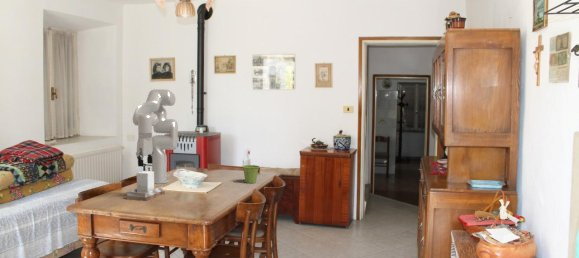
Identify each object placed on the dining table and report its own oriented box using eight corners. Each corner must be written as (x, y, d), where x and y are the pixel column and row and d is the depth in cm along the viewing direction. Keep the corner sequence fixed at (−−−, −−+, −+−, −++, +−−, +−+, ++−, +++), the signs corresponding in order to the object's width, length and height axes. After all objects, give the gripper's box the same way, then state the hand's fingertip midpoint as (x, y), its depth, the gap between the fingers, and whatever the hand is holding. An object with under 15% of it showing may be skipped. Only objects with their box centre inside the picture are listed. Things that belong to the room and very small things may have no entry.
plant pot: (258, 184, 315) (258, 167, 314) (241, 183, 315) (241, 167, 314) (260, 181, 327) (260, 165, 326) (243, 180, 327) (243, 164, 326)
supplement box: (154, 192, 277) (154, 171, 276) (147, 195, 270) (147, 173, 269) (143, 191, 279) (143, 170, 278) (136, 194, 272) (136, 172, 271)
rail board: (144, 191, 285) (144, 185, 285) (164, 193, 282) (164, 186, 282) (124, 198, 266) (124, 191, 266) (146, 200, 263) (146, 193, 262)
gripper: (147, 133, 281) (147, 162, 282) (130, 137, 264) (131, 167, 266) (158, 134, 279) (158, 163, 280) (142, 137, 262) (142, 167, 264)
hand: (145, 164), depth 273 cm, fingers open, 9 cm apart
